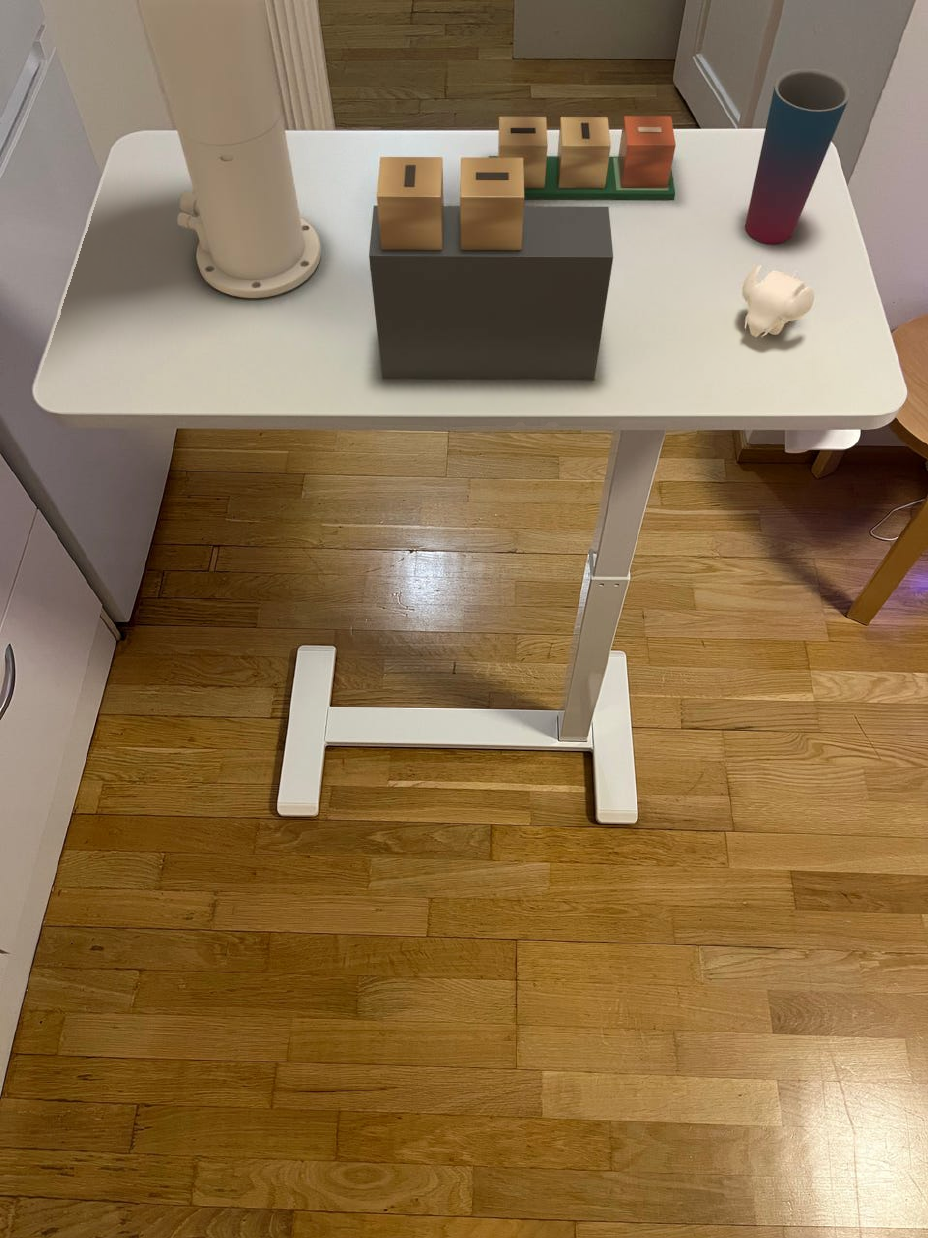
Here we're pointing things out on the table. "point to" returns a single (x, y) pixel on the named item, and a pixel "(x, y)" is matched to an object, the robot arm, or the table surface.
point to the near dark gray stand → (484, 276)
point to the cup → (793, 150)
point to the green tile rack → (569, 160)
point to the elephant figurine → (774, 301)
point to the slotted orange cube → (646, 151)
